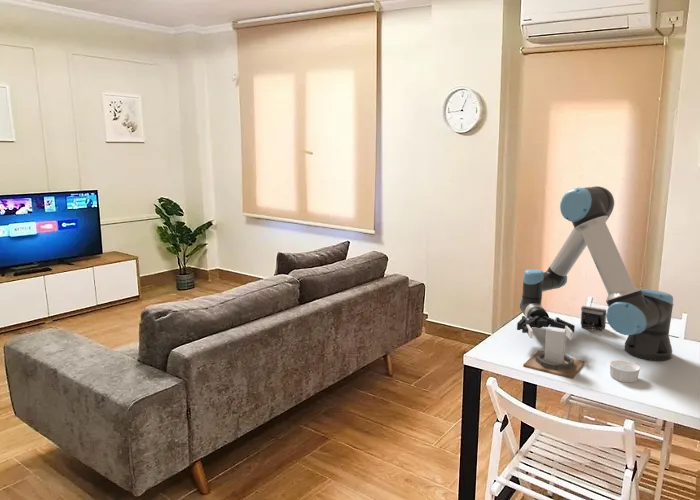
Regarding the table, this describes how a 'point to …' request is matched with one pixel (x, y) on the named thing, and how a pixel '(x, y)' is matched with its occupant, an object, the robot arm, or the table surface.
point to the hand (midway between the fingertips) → (551, 335)
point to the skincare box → (555, 345)
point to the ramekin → (624, 371)
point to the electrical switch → (593, 318)
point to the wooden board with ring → (565, 369)
